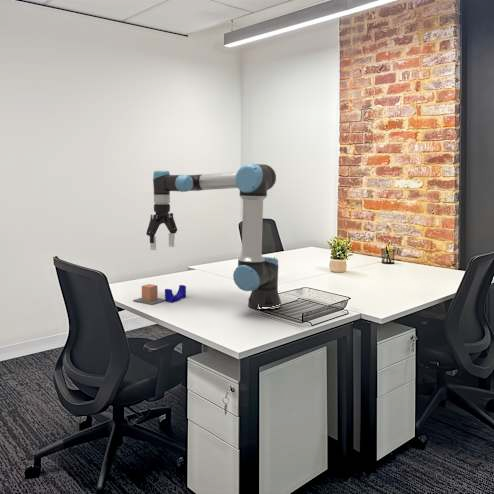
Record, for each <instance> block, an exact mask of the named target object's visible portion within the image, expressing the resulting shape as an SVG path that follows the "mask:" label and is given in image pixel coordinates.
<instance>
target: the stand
mask: <svg viewBox="0 0 494 494" xmlns="http://www.w3.org/2000/svg"><path fill="white" fill-rule="evenodd" d="M132 301H133V302H136V303H140V304H145V305H151V306H154V305H157V304H160V303H164V302H165V298H160V297H158V299H157V300H154V301H151V302H149V301H144V300H142V297H139V298H136V299H133V300H132Z"/></svg>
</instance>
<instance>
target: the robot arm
mask: <svg viewBox="0 0 494 494" xmlns="http://www.w3.org/2000/svg"><path fill="white" fill-rule="evenodd" d="M152 176H153V177H152V181H153V182H152V185H153V186H152V187H153V203H154V204H153V212H155V213H154V214H150V220H149V222H148V223H149V224H148V227H147V229H146V233H145V234H146V236H148V237H149V243H150V247H149V248H150V250H151V251H157V236H156V233H157V231H158V229H159V227H160V226H161V224H164V225H165V227H166V228H167V230H168V232H169V233H168V247H170V248H172V247H173V248H174V247H175V234H177V232H178V227H177V225H176V221H175V218H174V213H173V212H171V205H170V203H171V194H170V193H171V192H181V193H184V192H197V191H199V192H200V191H207V190H210V191H211V190H227V189H229V190H230V189H238V190H239V197H240V198H241V199H242V226H241V227H242V230H241V233H242V235H241V255H240V256H239V258H238V259H237V267H236V268H235V269H234V271H233V275H232V277H233V282H234V283H235V285H236V286H237V288H239V289H240V290H242V291H244V292H250V295H249V297H248V301H247V303H248V304H247V306H248V307H249V308H250V309H253V310H257V307H258V304H259V307H260V308H262V307H272V306H276V305H279V304H281V305H282V301H281V298H280V294H279V290H278V285H279V267H280V266H279V260H278V259H277V257H271V256H270V257H268V256H263V255H262V254H263V251H262V250H263V218H264V217H263V215H264V200H265V199H266V198H267V197H268V190H271V189H272V188H273V187H274V185H276V181H277V175H276V171H275V170H274V168H273V167H272V166H270V165H268V164H263V163H261V164H260V163H247V164H243V166H242V165H241V166H240V167H239V168H238V170H237V171H227V172H217V173H216V172H215V173H204V174H203V173H201V174H170V171H169V170H154V172H153V175H152Z"/></svg>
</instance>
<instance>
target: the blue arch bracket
mask: <svg viewBox="0 0 494 494" xmlns="http://www.w3.org/2000/svg"><path fill="white" fill-rule="evenodd" d="M186 298H187V286H186V285H184V284H179V286H178V290H177V293H175V294H173V290H172V289H170V288H165V289H164V299H165V301H166V303H171V304H172V303H176V302H179V301H181V300H183V299H186ZM165 301H164V302H165Z"/></svg>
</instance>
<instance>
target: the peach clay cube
mask: <svg viewBox="0 0 494 494" xmlns="http://www.w3.org/2000/svg"><path fill="white" fill-rule="evenodd" d="M141 298H142V300H144V301H149V302H151V301H154V300H157V299H158V298H159V295H158V285H157V284H152V283H149V284H143V285H141Z"/></svg>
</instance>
